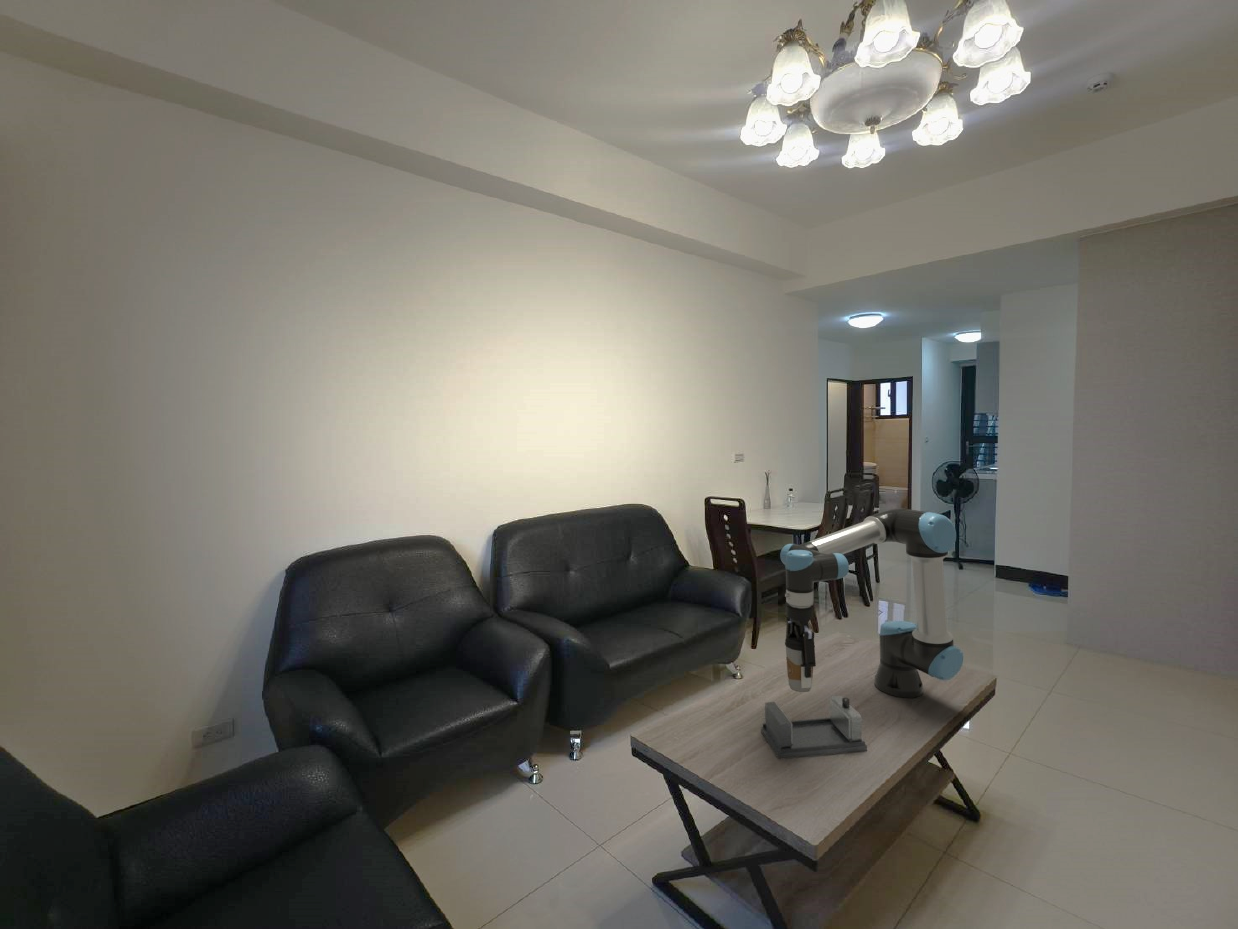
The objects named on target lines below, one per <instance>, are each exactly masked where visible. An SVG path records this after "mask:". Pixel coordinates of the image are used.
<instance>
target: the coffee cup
mask: <svg viewBox="0 0 1238 929" xmlns="http://www.w3.org/2000/svg"><path fill="white" fill-rule="evenodd" d="M800 638H804V637H800ZM784 641H785V642H784V645H785V655H786V659H785V660H786V669H787V670H786V671H787V680H788V686H789V689H791V690H792V691H795V692H797V693H808V692H810V691H811V689H812V687H810V688H802V687H801V666H800V665H801V664H803V663H802V656H801V654H802V648H804V646H803V647H801V644H803V645H804V642H799V641H798V640H797V637H795V638H792V635H791V634H788V635H787V638H786V637H785V640H784ZM814 648H816V646H815V644H814ZM813 674H814V667H811V681H812V682H813V676H814V675H813Z"/></svg>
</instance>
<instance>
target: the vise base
mask: <svg viewBox="0 0 1238 929" xmlns="http://www.w3.org/2000/svg"><path fill="white" fill-rule="evenodd" d="M764 711H765V712H764V717H765V718H764V720H765V721H764V722H765V723H762V726H760V732H761V733H762V735H763V737H764V738H765V739H766V741H767V743H768V744H769V745H770V748H771V749H772V750H773V752H774V753H775V755H776V756H777V758H778V760H782V759H783V760H784V759H795V758H802V757H803V758H804V757H815V756H817V757H818V756H826V755H836V754H847V753H857V752H859V753H860V752H867V751H868V745H867V744H866V741H864V740H862V741H860V742H850V741H849V740H848V739H847V738H846V737H845V736H844V735H843V734H842V733H841V732H840V730H839V729H838V728H837V727H836V726H835V725H834V724H833V723H832V722H831V720H830V717H823V718H822V717H821V718H812V719H800V720H799V719H798V720H790V719H789V718H788V716H787V715H786V714H785V713H784V711H783V710H782V708H780V706H779V705H778V704H777V703H776V702H775V701H772V702H770V701H768V702H765V703H764Z"/></svg>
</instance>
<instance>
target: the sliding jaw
mask: <svg viewBox="0 0 1238 929" xmlns="http://www.w3.org/2000/svg"><path fill="white" fill-rule="evenodd" d="M850 700H851V699H850V698H848V697H843V696H842V695H832V696H830V699H829V718H830V720H831V722H832V723H833V724H834V725H835V726H836V727H837V728H838V729H839V730H840V732H841V733H842V734H843V735H844V736H845V737H846V738H847V739H848V740H849V741H850V742H860V741H863V735H862V734H863V728H862V727H863V723H862V721H863V719H862V718H863V716H862V715H861V714H860V713H859V712H858V711H857V709H856V708H854V707H853V706H852V705H851V704H850Z"/></svg>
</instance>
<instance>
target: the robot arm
mask: <svg viewBox="0 0 1238 929" xmlns="http://www.w3.org/2000/svg"><path fill="white" fill-rule="evenodd" d="M887 542H888V543H890V542H892V543H898V544H903V545H905V552H906V555H907V556H908V557H909V558H911V562H912V575H913V576H912V577H913V591H914V604H915V605H914V607H915V608H914V609H915V622H916V623H914V622H910V621H907V620H904V621H903V620H890V621H885V622H883V623H881V625H880V630H879V665H878V668H877V670H876V672H875V675H874V686H875V687H876V688H877V689H878V690H879V691H881V692H883V693H884V694H887V695H890V696H895V697H898V698H917V697H920V696H921V695H922V694H923V693H924V685H923V681H922V679H921V675H920V672H922V673H924V674H927V675H929V676H930V677H931V678H935V679H937V680H940V681H949V680H951V679H953V678H954V677H956V676H957V675H958V673H959V672H960V671H961V668H962V667H963V664H964V653H963V651H962V650H961V649H960V648H959V647H958V646H956V645H955V644H954V636H953V634H952V633H951V632H950V631H948V624H947V622H948V621H947V608H946V607H947V606H946V604H947V603H946V591H945V590H946V588H945V574H944V559H945V558H946V557H947V556H948V555H949V552H950V551H951V550H952V549H953V548H954V546H955V543H956V542H957V531H956V527H955V525H954V523H953V522H952V521H951V519H949V518H948V517H947V516H945V515H943V514H939V513H935V512H934V511H933V512H932V511H924V510H915V509H909V508H905V507H904V508H901V507H900V508H894V509H888V510H884V511H881V512H879V513H875V514H871V515H869V516H866V518H865V517H864V519H863V521H862V522H859V523H856V524H853V525H851V526H848V527H845V528H843V529H840V530H837V531H835V532H832V533H828V534H826V535H823V536H821V537H818V538H815V539H813V540H810V541H807V542H804V543H800V544H796V543H787V544H785V545H784V546H783V547H782V548H781V550H780V554H779V555H780V556H779V558H780V560H781V562H782V564H783V565H784V567H785V593H784V597H785V602H786V603H785V611H786V612H785V615H786V617H785V620H786V630H785V631H786V632H785V639H786V638H787V635H788V634H791V635H792V638H795V637H797V640H798V641H799V642H804V645H803V644H801V647H803V646H804V648H802V654H801V656H802V663H803V664H801V665H800V666H801V687H802V688H810V687H811V688H812V684H813V680H812V681H811V667H813V668H815V667H816V665H817V664H816V662H817V661H816V651H815V648H816V647H815V648H814V645H815V631H814V630H812V631H811V630H810V626H809V625H810V624H809V622H810V621H811V620H813V619H814V606H813V605H814V583H818V582H828V581H836V580H839V579H842V578H846V576H847V575H848V574H849V570H850V569H849V568H850V566H849V565H850V564H849V562H848V559H847V557H846V556H845V554H848V553H850V552H853V551H855V550H856V551H857V550H858V549H861V548H864V547H866V546H868V545H871V544H876V545H881V544H884V543H887ZM800 637H804V638H800ZM919 671H920V672H919Z"/></svg>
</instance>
